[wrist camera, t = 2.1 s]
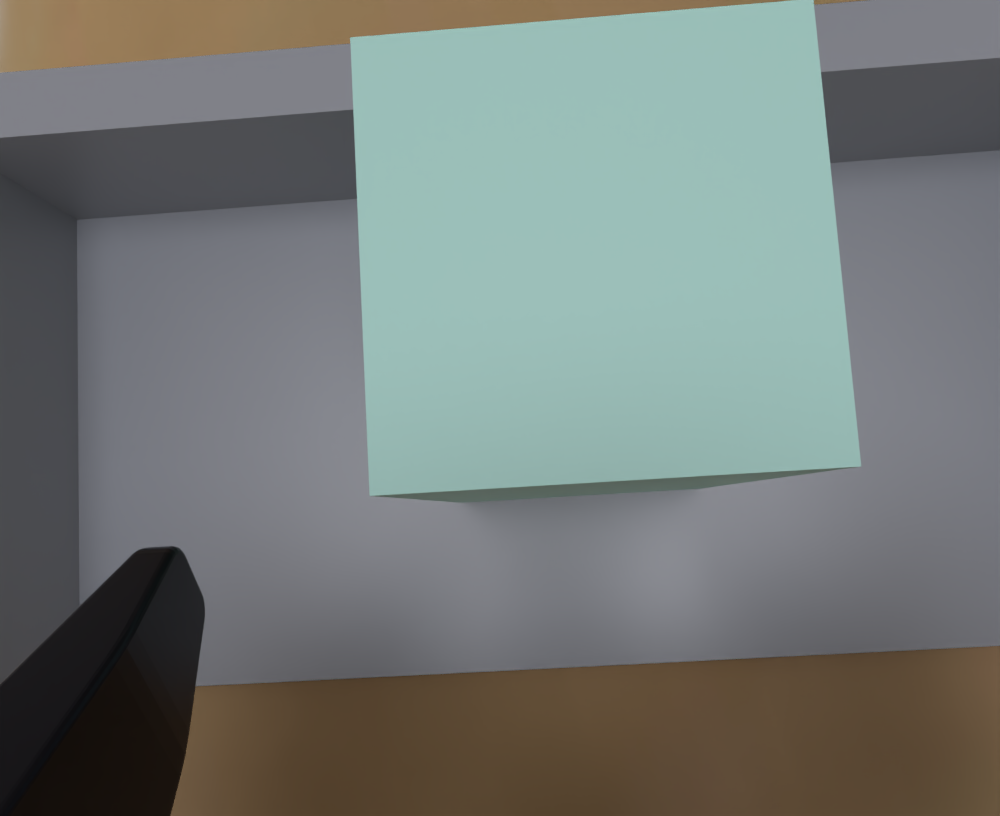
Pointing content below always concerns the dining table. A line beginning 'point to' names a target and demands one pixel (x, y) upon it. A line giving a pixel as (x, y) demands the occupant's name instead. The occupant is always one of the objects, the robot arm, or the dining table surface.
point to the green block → (599, 256)
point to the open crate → (342, 406)
